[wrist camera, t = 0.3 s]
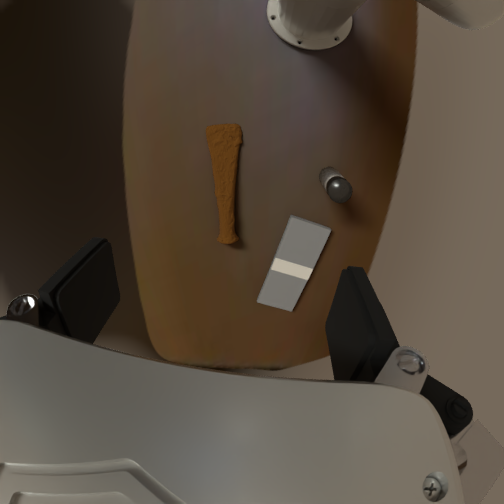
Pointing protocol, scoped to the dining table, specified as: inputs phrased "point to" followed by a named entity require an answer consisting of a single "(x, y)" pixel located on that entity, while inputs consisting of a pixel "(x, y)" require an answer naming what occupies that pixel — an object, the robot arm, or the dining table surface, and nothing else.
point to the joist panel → (293, 263)
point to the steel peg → (335, 185)
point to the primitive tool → (225, 174)
